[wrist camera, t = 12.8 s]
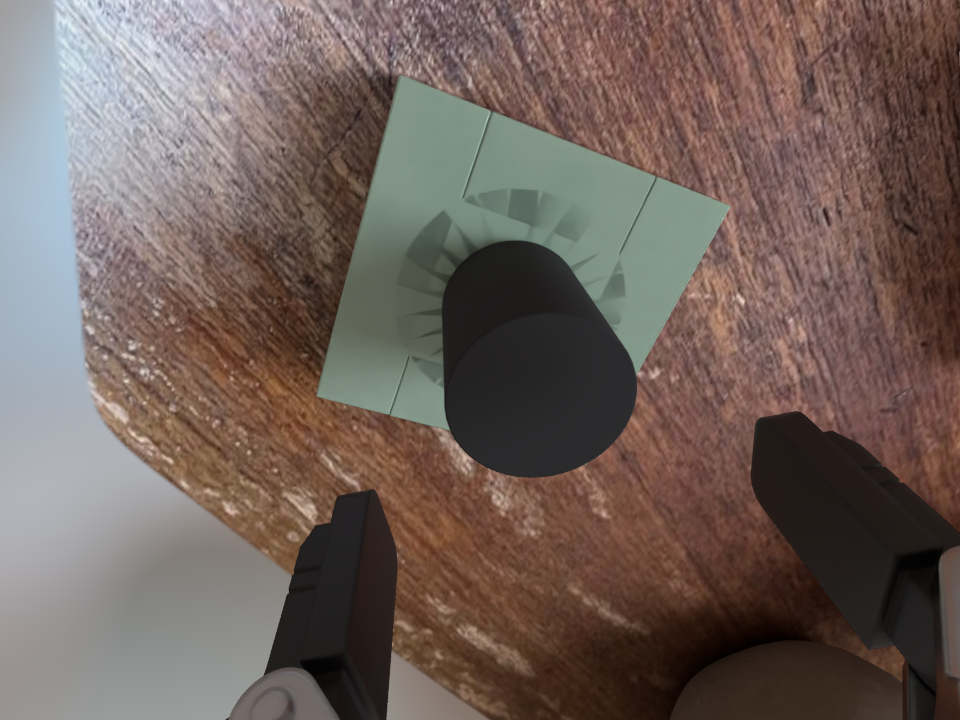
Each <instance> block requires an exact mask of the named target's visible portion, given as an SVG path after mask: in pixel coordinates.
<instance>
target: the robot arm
mask: <svg viewBox="0 0 960 720" xmlns="http://www.w3.org/2000/svg"><path fill="white" fill-rule="evenodd" d="M751 482H752V487H753V490H754V493H755V495H756V498H757V500H758V501H759V503H760V505H761V506H762V508H763V509H764V510H765V512H766V513H767V514H768V516H769V517H770V518H771V520H772V521H773V522H774V524H775V525H776V526H777V528H778V529H779V530H780V532H781V533H782V534H783V536H784V537H785V538H786V540H787V541H788V542H789V544H790V545H791V546H792V548H793V549H794V551H795V552H796V553H797V555H798V556H799V557H800V559H801V560H802V561H803V563H804V564H805V565H806V567H807V568H808V569H809V571H810V572H811V573H812V575H813V576H814V577H815V579H816V580H817V581H818V583H819V584H820V585H821V587H822V588H823V589H824V591H825V592H826V593H827V595H828V596H829V598H830V599H831V600H832V602H833V603H834V604H835V606H836V607H837V608H838V610H839V611H840V612H841V614H842V615H843V616H844V618H845V619H846V620H847V622H848V623H849V624H850V626H851V627H852V628H853V630H854V631H855V632H856V634H857V635H858V636H859V638H860V639H861V640H862V642H863V643H864V645H865V646H866V647H867V649H868V650H871V649H877V648H882V647H888V646H894V645H895V646H896V647H897V649H898V650H899V651H900V652H901V654H902V655H903V656H904V657H905V661H904V664H903V670H902V720H960V532H958V531H957V530H956V529H955V528H954V527H953V526H952V525H951V524H949V523H948V522H947V521H946V520H945V519H944V518H943V517H942V516H940V515H939V514H938V513H937V512H936V511H935V510H934V509H933V508H931V507H930V506H929V505H928V504H927V503H926V502H925V501H923V500H922V499H921V498H920V497H919V496H918V495H917V494H916V493H914V492H913V491H912V490H911V489H910V488H909V487H908V486H907V485H905V484H904V483H900V482H899V478H898V477H896V476H895V475H894V474H893V473H892V472H891V471H890V470H888V469H887V468H886V467H882V465H881V462H879V461H878V460H877V459H876V458H875V457H874V456H873V455H872V454H870V453H869V452H868V451H867V450H866V449H865V448H864V447H863V446H861V445H860V444H858V443H856V442H854V441H852V440H850V439H848V438H846V437H844V436H842V435H840V434H838V433H836V432H834V431H828V432H822V431H821V430H820V429H819V428H818V427H817V426H816V425H815V424H814V423H813V422H812V421H811V420H810V419H809V418H808V417H807V416H805V415H804V414H803V413H801V412H798V411H795V412H789V413H784V414H779V415H773V416H768V417H762V418H759V419H758V420H757V422H756V425H755V433H754V444H753V455H752V467H751ZM396 583H397V553H396V547H395V543H394V539H393V536H392V533H391V531H390V528H389V525H388V522H387V519H386V517H385V514H384V511H383V508H382V505H381V503H380V500H379V497H378V495H377V493H376V491H375V490H374V489H371V490H366V491H360V492H355V493H350V494H344V495H339V496H338V497H337V499H336V502H335V506H334V510H333V514H332V519H331V523H327V524H321V525H316V526H315V527H314V529H313V530H312V532H311V533H310V534H309V536H308V537H307V539H306V540H305V541H304V543H303V544H302V546H301V547H300V550H299V554H298V557H297V561H296V564H295V568H294V575H292V579H291V583H290V586H289V594H287V596H286V600H285V604H284V607H283V611H282V614H281V618H280V622H279V625H278V629H277V632H276V636H275V639H274V643H273V646H272V650H271V654H270V657H269V661H268V664H267V668H266V670H265V673H264V676H263V677H261V678H260V679H259V680H257V681H256V682H255V683H254V684H252V685H251V686H250V687H249V688H248V689H247V690H246V692H244V694H243V695H242V696H241V697H240V699H239V700H238V702H237V703H236V705H235V706H234V708H233V710H232V712H231V714H230V717H229V718H227V719H226V720H386V717H387V703H388V690H389V676H390V663H391V650H392V636H393V623H394V610H395V596H396Z"/></svg>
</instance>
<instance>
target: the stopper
mask: <svg viewBox="0 0 960 720" xmlns="http://www.w3.org/2000/svg"><path fill="white" fill-rule="evenodd" d="M442 334H443V373H444V409H445V415H446V420H447V423H448V426H449V429H450V431H451V433H452V435H453V437H454V439H455V440H456V441H457V443H458V444H459V446H460V447H461V448H462V449H463V450H464V451H465V452H466V453H467V454H468V455H469V456H470V457H471V458H473V459H474V460H475V461H477V462H478V463H480V464H482V465H483V466H485V467H487V468H489V469H491V470H494V471H496V472H499V473H503V474H506V475H511V476H516V477H528V478H532V477H546V476H553V475H557V474H561V473H565V472H568V471H571V470H574V469H576V468H578V467H580V466H582V465H585V464H586V463H588V462H590V461H591V460H593V459H595V458H596V457H598V456H599V455H600V454H602V453H603V452H604V451H605V450H606V449H608V448H609V447H610V446H611V445H612V444H613V443H614V442H615V440H616V439H617V438H618V437H619V436H620V434H621V433H622V431H623V430H624V428H625V427H626V425H627V423H628V421H629V419H630V417H631V415H632V412H633V409H634V406H635V401H636V395H637V379H636V372H635V368H634V365H633V362H632V359H631V357H630V355H629V353H628V351H627V350H626V348H625V347H624V345H623V344H622V343H621V341H620V340H619V338H618V337H617V335H616V334H615V332H614V331H613V329H612V328H611V327H610V325H609V324H608V322H607V321H606V319H605V318H604V316H603V315H602V313H601V312H600V310H599V309H598V308H597V306H596V305H595V303H594V302H593V300H592V299H591V297H590V296H589V294H588V293H587V292H586V290H585V289H584V287H583V286H582V284H581V283H580V281H579V280H578V278H577V277H576V275H575V274H574V273H573V271H572V270H571V268H570V267H569V265H568V264H567V263H566V262H565V261H564V260H563V259H562V258H561V257H560V256H559V255H558V254H556V253H555V252H553V251H552V250H550V249H548V248H547V247H544V246H542V245H539V244H536V243H532V242H528V241H503V242H498V243H494V244H491V245H488V246H486V247H483V248H481V249H480V250H478V251H476V252H474V253H473V254H471V255H470V256H469V257H467V258H466V259H465V260H464V261H463V262H462V263H461V264H460V265H459V266H458V267H457V269H456V270H455V271H454V272H453V274H452V276H451V277H450V279H449V281H448V283H447V286H446V288H445V291H444V295H443V301H442Z"/></svg>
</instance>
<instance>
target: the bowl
mask: <svg viewBox="0 0 960 720" xmlns="http://www.w3.org/2000/svg"><path fill="white" fill-rule="evenodd" d="M670 720H902V682H900V681H899V680H898V679H897V678H895V677H894V676H892V675H891V674H889V673H888V672H886V671H884V670H882V669H881V668H879V667H877V666H875V665H874V664H872V663H870V662H868V661H866V660H864V659H862V658H860V657H859V656H857V655H855V654H852V653H850V652H848V651H845V650H843V649H840V648H837V647H834V646H830V645H826V644H823V643H819V642H810V641H794V640H785V641H777V642H771V643H766V644H761V645H757V646H754V647H751V648H748V649H744V650H741V651H738V652H736V653H734V654H731V655H729V656H726V657H724V658H722V659H719V660H717V661H715V662H714V663H712V664H710V665H708V666H706V667H705V668H703V669H702V670H701V671H699V672H698V673H697V674H696V675H695V676H694V677H693V678H692V679H691V680H690V681H689V682H688V683H687V685H686V686H685V688H684V689H683V691H682V692H681V694H680V696H679V698H678V699H677V702H676V704H675V706H674V709H673V711H672V714H671V717H670Z"/></svg>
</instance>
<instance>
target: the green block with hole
mask: <svg viewBox="0 0 960 720" xmlns="http://www.w3.org/2000/svg"><path fill="white" fill-rule="evenodd" d="M729 208H730V206H729V205H728V204H726V203H723V202H721V201H719V200H717V199H715V198H712V197H710V196H708V195H706V194H704V193H702V192H699V191H697V190H695V189H692V188H690V187H687V186H685V185H682V184H680V183H677V182H675V181H672V180H670V179H667V178H665V177H662V176H660V175H657V174H655V173H652V172H650V171H647V170H645V169H642V168H640V167H637V166H635V165H632V164H629V163H627V162H625V161H622V160H620V159H617V158H615V157H612V156H609V155H607V154H604V153H602V152H599V151H597V150H594V149H592V148H589V147H587V146H584V145H582V144H579V143H577V142H574V141H572V140H569V139H567V138H564V137H562V136H559V135H557V134H554V133H552V132H549V131H547V130H544V129H542V128H539V127H537V126H534V125H532V124H529V123H527V122H524V121H522V120H519V119H516V118H514V117H511V116H509V115H506V114H504V113H501V112H499V111H496V110H494V109H491V108H489V107H484V106H483V105H481V104H479V103H476V102H474V101H471V100H469V99H466V98H464V97H461V96H459V95H456V94H454V93H451V92H449V91H446V90H444V89H441V88H439V87H436V86H434V85H431V84H429V83H426V82H423V81H421V80H418V79H416V78H413V77H411V76H408V75H400V76H399V77H398V80H397V84H396V88H395V92H394V95H393V99H392V103H391V107H390V111H389V115H388V119H387V122H386V126H385V130H384V134H383V138H382V142H381V146H380V149H379V153H378V157H377V161H376V165H375V169H374V172H373V176H372V180H371V184H370V188H369V192H368V196H367V199H366V203H365V207H364V211H363V215H362V219H361V223H360V226H359V230H358V234H357V238H356V242H355V246H354V250H353V253H352V257H351V261H350V265H349V269H348V273H347V276H346V280H345V284H344V288H343V292H342V296H341V300H340V303H339V307H338V311H337V315H336V319H335V323H334V327H333V330H332V334H331V338H330V342H329V346H328V350H327V353H326V357H325V361H324V365H323V369H322V373H321V377H320V380H319V384H318V388H317V392H316V396H317V397H320V398H324V399H328V400H332V401H336V402H340V403H343V404H347V405H351V406H355V407H359V408H363V409H367V410H371V411H375V412H379V413H383V414H389V413H390V416H394V417H398V418H401V419H405V420H409V421H413V422H417V423H421V424H425V425H429V426H433V427H437V428H441V429H445V430H449V431H450V429H449V426H448V423H447V420H446V415H445V409H444V373H443V334H442V301H443V295H444V291H445V288H446V286H447V283H448V281H449V279H450V277H451V276H452V274H453V272H454V271H455V270H456V269H457V267H458V266H459V265H460V264H461V263H462V262H463V261H464V260H465V259H466V258H467V257H469V256H470V255H471V254H473V253H474V252H476V251H478V250H480V249H481V248H483V247H486V246H488V245H491V244H494V243H498V242H503V241H528V242H532V243H536V244H539V245H542V246H544V247H547V248H548V249H550V250H552V251H553V252H555V253H556V254H558V255H559V256H560V257H561V258H562V259H563V260H564V261H565V262H566V263H567V264H568V265H569V267H570V268H571V270H572V271H573V273H574V274H575V275H576V277H577V278H578V280H579V281H580V283H581V284H582V286H583V287H584V289H585V290H586V292H587V293H588V294H589V296H590V297H591V299H592V300H593V302H594V303H595V305H596V306H597V308H598V309H599V310H600V312H601V313H602V315H603V316H604V318H605V319H606V321H607V322H608V324H609V325H610V327H611V328H612V329H613V331H614V332H615V334H616V335H617V337H618V338H619V340H620V341H621V343H622V344H623V345H624V347H625V348H626V350H627V351H628V353H629V355H630V357H631V359H632V362H633V365H634V368H635V372H636V375H637V373H638V371H639V369H640V368H641V366H642V364H643V362H644V360H645V359H646V357H647V355H648V353H649V352H650V350H651V348H652V346H653V344H654V343H655V341H656V339H657V337H658V335H659V334H660V332H661V330H662V328H663V326H664V325H665V323H666V321H667V319H668V317H669V316H670V314H671V312H672V310H673V308H674V307H675V305H676V303H677V301H678V300H679V298H680V296H681V294H682V292H683V291H684V289H685V287H686V285H687V283H688V282H689V280H690V278H691V276H692V274H693V273H694V271H695V269H696V267H697V265H698V264H699V262H700V260H701V258H702V257H703V255H704V253H705V251H706V249H707V248H708V246H709V244H710V242H711V240H712V239H713V237H714V235H715V233H716V231H717V230H718V228H719V226H720V224H721V222H722V221H723V219H724V217H725V215H726V213H727V212H728V210H729ZM586 464H587V463H586ZM586 464H585V465H586Z"/></svg>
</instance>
